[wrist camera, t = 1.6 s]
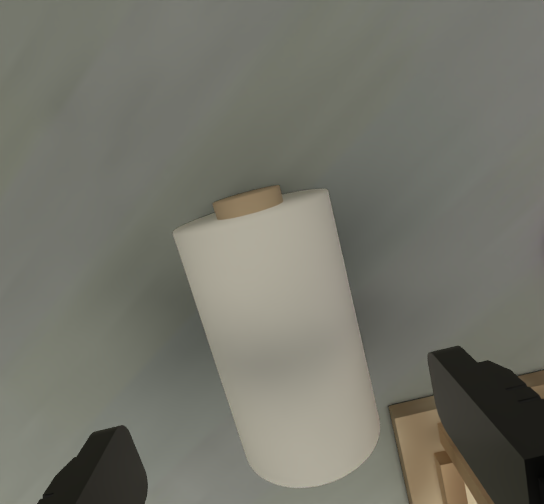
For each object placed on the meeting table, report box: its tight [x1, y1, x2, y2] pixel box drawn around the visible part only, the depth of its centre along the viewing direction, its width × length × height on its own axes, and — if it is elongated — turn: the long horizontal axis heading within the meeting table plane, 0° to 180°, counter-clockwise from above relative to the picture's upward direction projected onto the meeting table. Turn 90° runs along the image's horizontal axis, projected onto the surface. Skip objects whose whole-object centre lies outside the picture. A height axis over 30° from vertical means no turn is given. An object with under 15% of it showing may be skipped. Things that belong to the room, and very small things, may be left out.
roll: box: [172, 185, 380, 488], centre depth 16 cm, size 11×6×6 cm, turn 15°
